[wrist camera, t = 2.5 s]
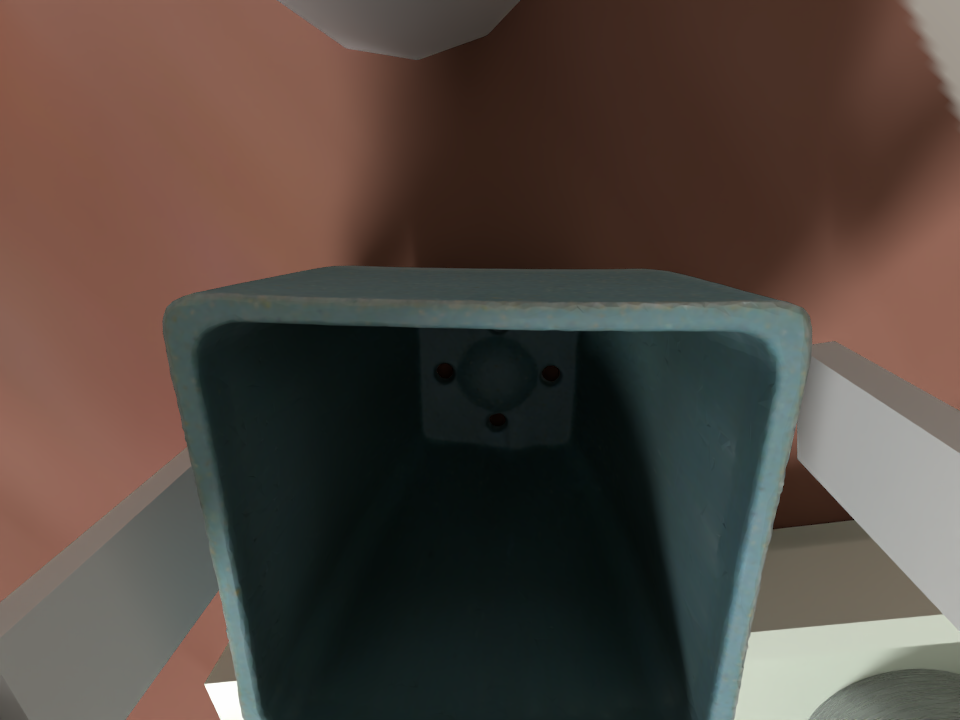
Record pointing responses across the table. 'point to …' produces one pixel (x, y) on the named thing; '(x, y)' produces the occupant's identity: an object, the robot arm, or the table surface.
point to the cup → (402, 23)
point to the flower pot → (488, 487)
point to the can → (896, 697)
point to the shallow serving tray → (801, 625)
